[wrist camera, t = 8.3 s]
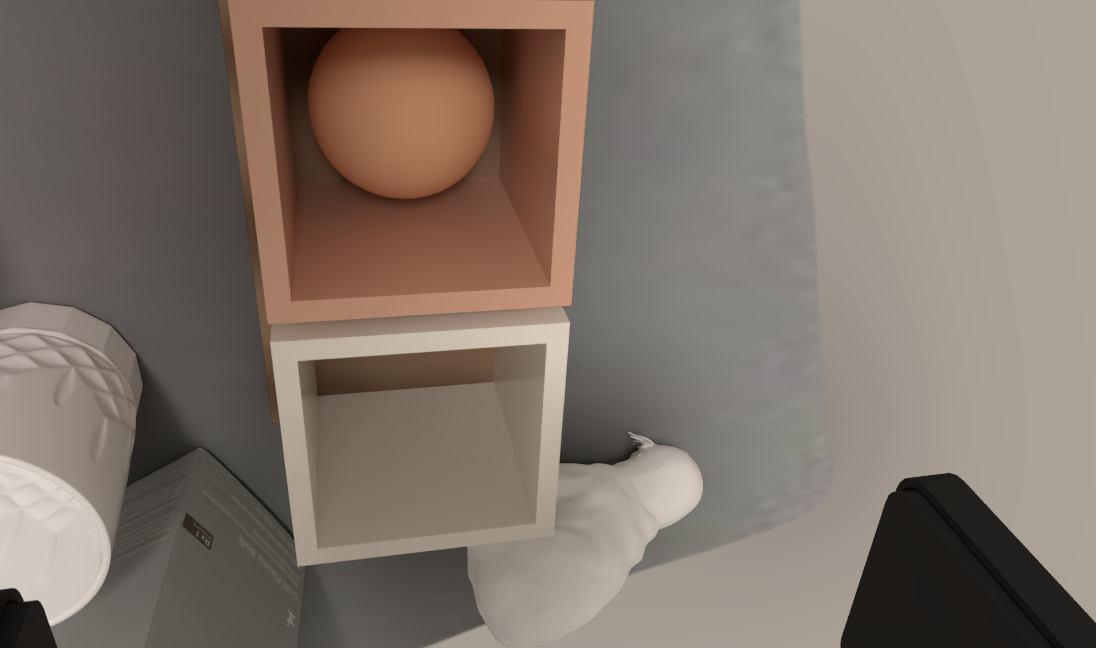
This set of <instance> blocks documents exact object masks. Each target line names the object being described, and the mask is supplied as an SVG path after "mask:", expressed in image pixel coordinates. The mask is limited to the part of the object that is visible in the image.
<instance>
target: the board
mask: <svg viewBox="0 0 1096 648" xmlns="http://www.w3.org/2000/svg"><path fill="white" fill-rule="evenodd" d="M218 4H219V12H220V20H221V28H222V35H223V43H224V51H225V59H226V66H227V74H228V82H229V90H230V98H231V105H232V113H233V121H234V129H235V136H236V144H237V152H238V160H239V168H240V175H241V183H242V191H243V199H244V206H245V214H246V222H247V230H248V238H249V245H250V253H251V261H252V269H253V276H254V284H255V292H256V300H257V308H258V315H259V323H260V331H261V339H262V346H263V354H264V362H265V370H266V377H267V385H268V393H269V401H270V409H271V416H272V424H280V419H279V411H278V403H277V395H276V387H275V379H274V370H273V362H272V354H271V346H270V337H271V326H272V324H268V322H267V314H266V306H265V297H264V289H263V281H262V273H261V265H260V257H259V249H258V241H257V232H256V224H255V216H254V208H253V200H252V192H251V184H250V176H249V168H248V159H247V151H246V143H245V135H244V127H243V119H242V111H241V103H240V94H239V86H238V78H237V70H236V62H235V54H234V46H233V38H232V30H231V21H230V13H229V5H228V0H218ZM340 29H341V28H326V27H283V36H284V47H285V57H286V68H287V78H288V89H289V99H290V110H291V120H292V131H293V141H294V152H295V163H296V173H297V184H299V183H333V182H350V181H349V180H348V179H346V178H345V177H343V176H342V175H341V174H340V173H339V172H338V171H337V170H336V169H335V168H334V167H333V166H332V164H331V163H330V162H329V161H328V159H327V158H326V157H325V155H324V153H323V152H322V150H321V149H320V147H319V145H318V143H317V141H316V139H315V136H314V134H313V131H312V127H311V124H310V118H309V112H308V88H309V81H310V78H311V74H312V70H313V67H314V65H315V63H316V60H317V58H318V56H319V54H320V53H321V51H322V49H323V48H324V46H325V45H326V44H327V42H328V41H329V40H330V39H331V38H332V37H333V36H334V35H335V34H336V33H337V32H338V31H339V30H340ZM455 29H457V30H458V31H459V32H460V33H461V34H462V35H463V36H464V37H465V38H466V39H467V40H468V41H469V42H470V43H471V44H472V46H473V47H474V48H475V49H476V51H477V52H478V54H479V55H480V57H481V58H482V60H483V62H484V64H485V66H486V69H487V71H488V74H489V77H490V80H491V83H492V87H493V93H494V104H495V111H494V122H493V127H492V132H491V136H490V138H489V141H488V144H487V146H486V148H485V150H484V152H483V154H482V156H481V157H480V159H479V160H478V161H477V163H476V164H475V166H474V167H473V168H472V169H471V170H470V171H469V172H468V173H467V175H465V176H464V177H463V178H462V179H468V178H499V161H500V124H501V87H502V50H503V29H473V28H455ZM562 307H563V309H564V306H562ZM494 348H495V347H489V348H475V349H461V350H447V351H433V352H419V353H405V354H391V355H377V356H362V357H348V358H334V359H320V360H314V363H315V374H316V384H317V395H318V396H325V395H338V394H350V393H363V392H376V391H388V390H401V389H413V388H426V387H438V386H451V385H463V384H476V383H488V382H494Z"/></svg>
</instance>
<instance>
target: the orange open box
mask: <svg viewBox="0 0 1096 648" xmlns="http://www.w3.org/2000/svg"><path fill="white" fill-rule="evenodd" d="M228 5H229V13H230V21H231V30H232V38H233V46H234V54H235V62H236V70H237V78H238V86H239V94H240V103H241V111H242V119H243V127H244V135H245V143H246V151H247V159H248V168H249V176H250V184H251V192H252V200H253V208H254V216H255V224H256V232H257V241H258V249H259V257H260V265H261V273H262V281H263V289H264V297H265V306H266V314H267V322H268V324H283V323H299V322H316V321H332V320H348V319H364V318H380V317H396V316H412V315H428V314H444V313H460V312H476V311H493V310H509V309H525V308H541V307H557V306H571V303H572V290H573V277H574V264H575V251H576V238H577V224H578V211H579V198H580V185H581V172H582V159H583V146H584V133H585V119H586V106H587V93H588V80H589V67H590V54H591V41H592V28H593V15H594V0H228ZM283 27H326V28H473V29H503V50H502V87H501V124H500V161H499V178H468V179H461V180H459V181H458V182H457V183H455V184H454V185H452V186H451V187H449V188H447V189H445V190H443V191H441V192H439V193H436V194H433V195H430V196H426V197H421V198H413V199H395V198H388V197H384V196H380V195H376V194H373V193H371V192H369V191H366V190H364V189H362V188H360V187H358V186H357V185H355V184H353V183H352V182H333V183H299V184H297V173H296V163H295V152H294V141H293V131H292V120H291V110H290V99H289V89H288V78H287V68H286V57H285V47H284V36H283Z"/></svg>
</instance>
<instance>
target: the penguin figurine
mask: <svg viewBox="0 0 1096 648" xmlns="http://www.w3.org/2000/svg"><path fill="white" fill-rule="evenodd" d="M633 432H634V431H633ZM628 433H629V434H631V435H632V436H630V437H632V438H634V439H636V440H638V441H634V442H639V441H640V443H642V445H641V446H640V447H639V450H638V451H636V452H634V453H632V454H631V456H630V459H628V460H626V461H623V462H619V463H616V464H614V465H613V466H612V465H607V464H602V463H595V464H591V465H585V464H576V463H559V474H558V487H557V500H556V513H555V526H554V536H550V537H542V538H533V539H525V540H517V541H508V542H500V543H491V544H483V545H475V546H467V559H468V570H467V571H468V577H469V579H470V581H471V583H472V585H473V589H474V595H475V600H476V605H477V608H478V611H479V613H480V614H481V616H482V618H483V620H484V621H485V623H486V625H487V626H488V628H489V630H490V631H491V632H492V634H493V635H494V637H495V638H496V639H497V640H498V641H499V642H500V643H502V644H503V645H505V646H507V647H509V648H532V647H538V646H544V645H547V644H550V643H553V642H554V641H556V640H558V639H560V638H562V637H564V636H565V635H567V634H569V633H571V632H573V631H575V630H577V629H579V628H580V627H582V626H583V625H585V624H586V623H587V622H589V621H590V620H592V619H593V618H594V617H595V616H596V615H597V614H598V613H599V612H600V610H601V609H602V608H603V607H605V606H606V605H607V604H608V603H609V602H610V601H611V600H612V598H614V597H615V596H616V595H617V594H618V593H619V591H620V590H621V589H622V587H623V586H624V584H625V582H626V580H627V577H628V574H629V572H630V570H631V569H632V567H633V566H634V565H636V564H637V563H639V562H640V561H641V560H642V558H643V555H644V550H645V547H646V545H647V544H648V543H649V542H650V541H651V540H652V539H653V538H654V537H655V536H656V534H657V532H658V529H662V528H665V527H667V526H670V525H672V524H674V523H675V522H677V521H679V520H680V519H681V518H683V517H684V516H685V515H687V514H688V513H689V512H690V511H692V510H693V509H694V508H695V507H696V505H697V504H698V503H699V501H700V499H701V496H702V492H703V481H702V476H701V473H700V470H699V468H698V466H697V464H696V463H695V462H694V460H693V459H692V458H691V457H690V456H689V454H688V453H687V452H685V451H683V450H680V449H678V448H676V447H672V446H666V445H657V444H655V443H653V441H651V440H649V439H648V438H646V437H644V436H641V435H639V434H638V435H639V436H637V435H635V434H633V433H630V432H628ZM633 436H634V437H633ZM634 442H633V443H634Z"/></svg>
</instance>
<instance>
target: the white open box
mask: <svg viewBox="0 0 1096 648" xmlns="http://www.w3.org/2000/svg"><path fill="white" fill-rule="evenodd" d="M569 329H570V321H569V319H568V317H567V315H566V313H565V311H564V309H563V307H562V306H557V307H541V308H525V309H509V310H493V311H476V312H460V313H444V314H428V315H412V316H396V317H380V318H364V319H348V320H332V321H316V322H299V323H283V324H272V326H271V337H270V346H271V354H272V362H273V370H274V379H275V387H276V395H277V403H278V411H279V419H280V427H281V435H282V443H283V452H284V460H285V468H286V476H287V484H288V492H289V500H290V508H291V517H292V525H293V533H294V541H295V549H296V557H297V565H298V566H307V565H315V564H323V563H332V562H340V561H349V560H357V559H365V558H374V557H382V556H391V555H399V554H407V553H416V552H424V551H433V550H441V549H449V548H458V547H466V546H475V545H483V544H491V543H500V542H508V541H517V540H525V539H533V538H542V537H550V536H554V526H555V513H556V500H557V487H558V474H559V461H560V448H561V434H562V421H563V408H564V395H565V382H566V369H567V356H568V343H569ZM489 347H495V348H494V382H488V383H476V384H463V385H451V386H438V387H426V388H413V389H401V390H388V391H376V392H363V393H350V394H338V395H325V396H318V395H317V384H316V374H315V363H314V360H320V359H334V358H348V357H362V356H377V355H391V354H405V353H419V352H433V351H447V350H461V349H475V348H489Z"/></svg>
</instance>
